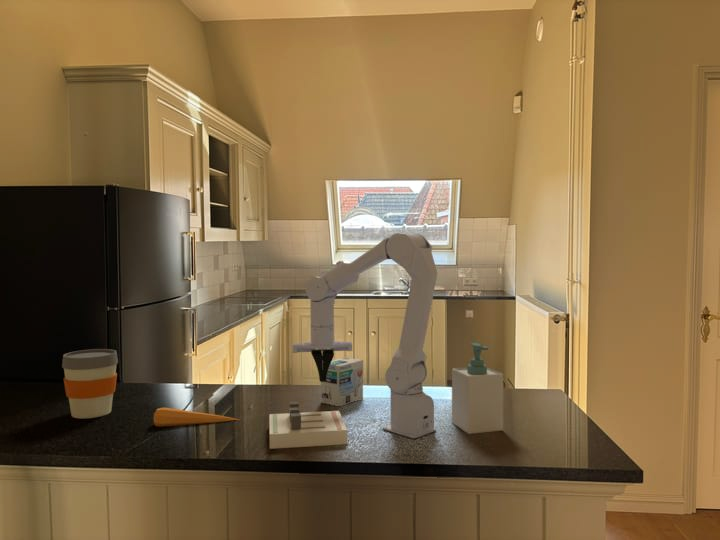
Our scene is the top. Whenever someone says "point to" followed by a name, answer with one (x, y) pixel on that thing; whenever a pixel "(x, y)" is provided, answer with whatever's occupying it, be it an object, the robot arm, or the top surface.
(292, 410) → the block
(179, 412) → the carrot
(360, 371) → the light bulb box
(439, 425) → the top surface
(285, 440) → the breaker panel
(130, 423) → the top surface
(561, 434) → the top surface
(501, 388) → the soap bottle
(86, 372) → the reusable coffee cup
